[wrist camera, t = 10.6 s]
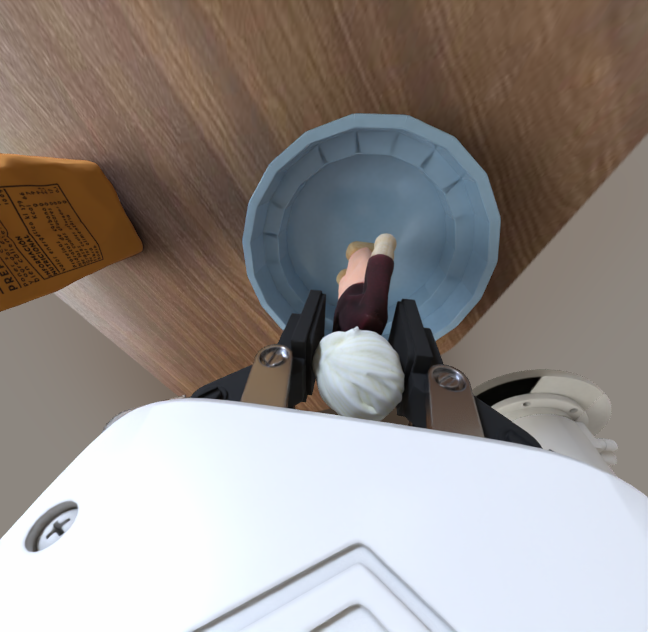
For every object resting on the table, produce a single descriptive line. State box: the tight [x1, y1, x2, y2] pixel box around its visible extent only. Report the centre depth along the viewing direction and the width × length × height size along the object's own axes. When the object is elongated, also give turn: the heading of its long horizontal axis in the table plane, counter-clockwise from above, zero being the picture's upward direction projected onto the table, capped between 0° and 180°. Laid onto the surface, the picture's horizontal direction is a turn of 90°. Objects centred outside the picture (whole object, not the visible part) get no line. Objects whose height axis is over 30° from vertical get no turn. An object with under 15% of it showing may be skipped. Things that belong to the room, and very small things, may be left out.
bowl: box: [242, 113, 501, 341], centre depth 20 cm, size 17×17×6 cm
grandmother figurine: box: [312, 233, 405, 421], centre depth 13 cm, size 8×4×13 cm, turn 172°
